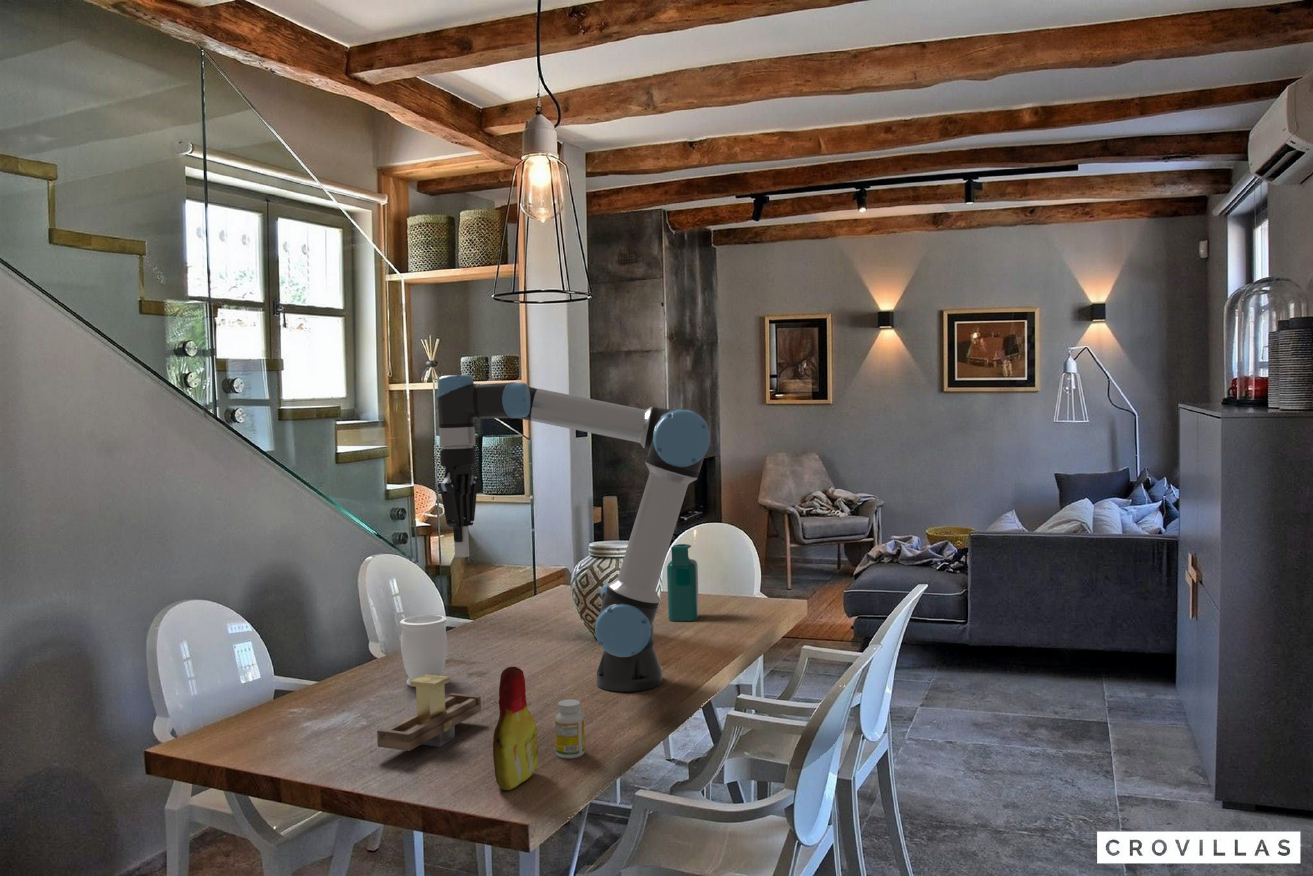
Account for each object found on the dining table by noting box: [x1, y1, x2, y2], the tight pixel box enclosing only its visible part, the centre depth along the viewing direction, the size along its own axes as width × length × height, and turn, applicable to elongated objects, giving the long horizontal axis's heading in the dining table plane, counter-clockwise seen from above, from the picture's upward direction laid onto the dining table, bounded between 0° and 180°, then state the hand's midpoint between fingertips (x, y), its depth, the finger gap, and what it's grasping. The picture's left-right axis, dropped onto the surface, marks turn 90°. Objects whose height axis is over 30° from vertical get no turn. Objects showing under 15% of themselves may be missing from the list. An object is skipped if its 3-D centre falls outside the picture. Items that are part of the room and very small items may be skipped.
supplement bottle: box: [554, 698, 586, 759], centre depth 184 cm, size 5×5×10 cm
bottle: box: [492, 666, 539, 791], centre depth 171 cm, size 12×6×20 cm, turn 163°
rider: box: [409, 674, 451, 724], centre depth 193 cm, size 5×6×8 cm
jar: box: [399, 614, 448, 686], centre depth 233 cm, size 11×10×15 cm
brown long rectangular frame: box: [376, 693, 482, 752], centre depth 193 cm, size 24×8×6 cm, turn 158°
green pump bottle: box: [666, 543, 700, 622], centre depth 292 cm, size 10×8×22 cm
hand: (462, 556), depth 215 cm, fingers closed
